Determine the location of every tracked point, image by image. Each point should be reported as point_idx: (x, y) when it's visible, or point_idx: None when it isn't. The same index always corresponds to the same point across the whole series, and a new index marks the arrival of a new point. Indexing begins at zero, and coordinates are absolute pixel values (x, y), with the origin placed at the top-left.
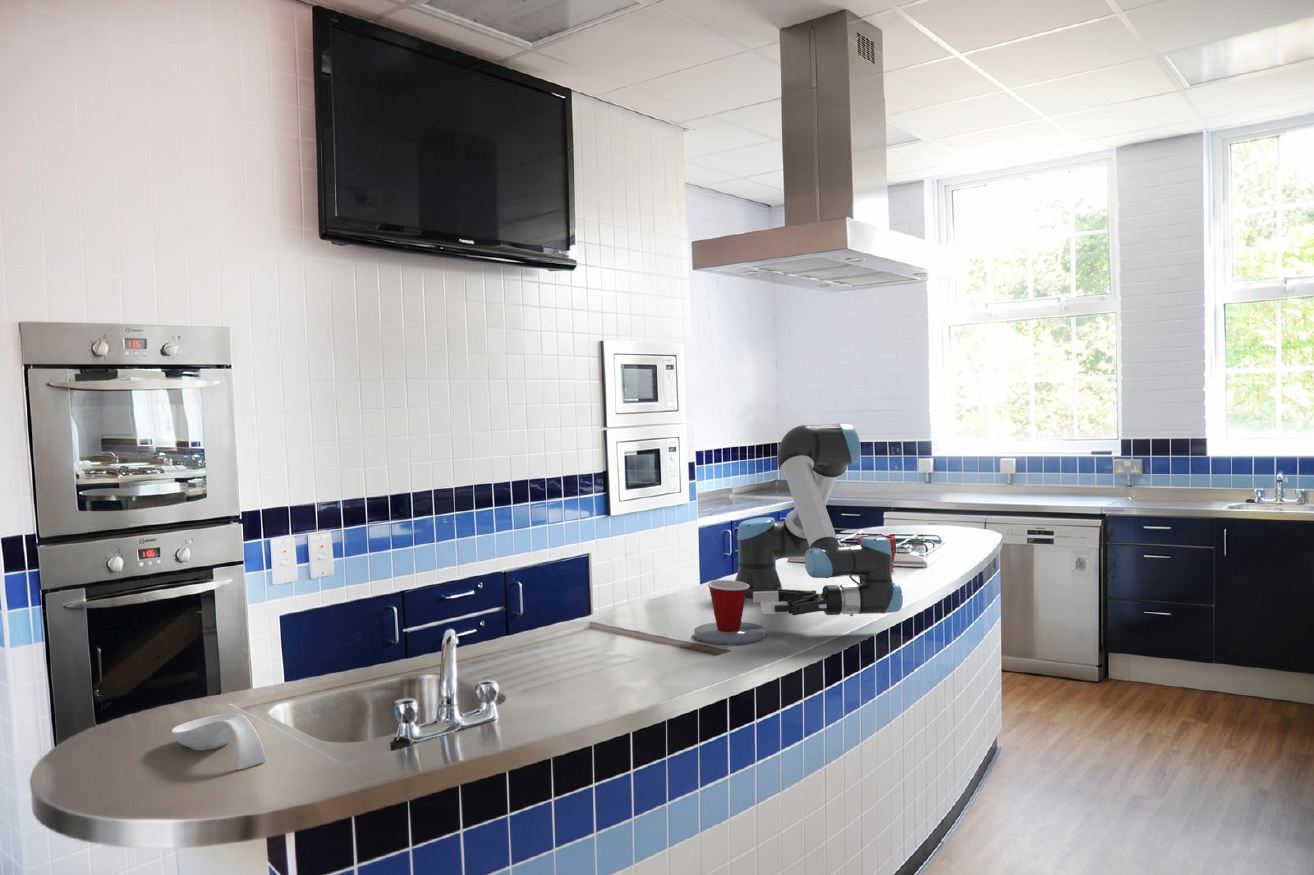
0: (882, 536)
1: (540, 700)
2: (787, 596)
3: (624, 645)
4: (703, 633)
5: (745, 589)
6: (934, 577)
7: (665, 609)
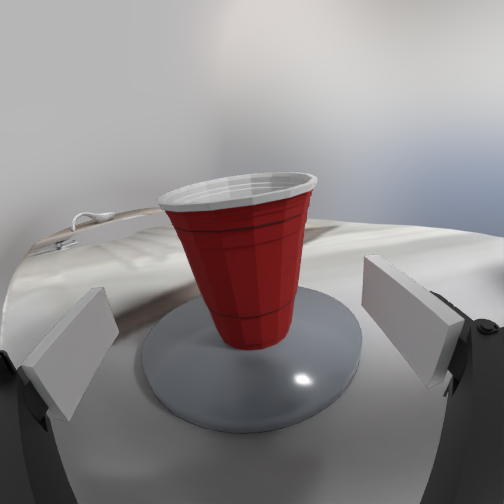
0: None
1: (71, 253)
2: (458, 411)
3: None
4: None
5: (176, 211)
6: None
7: (444, 247)
